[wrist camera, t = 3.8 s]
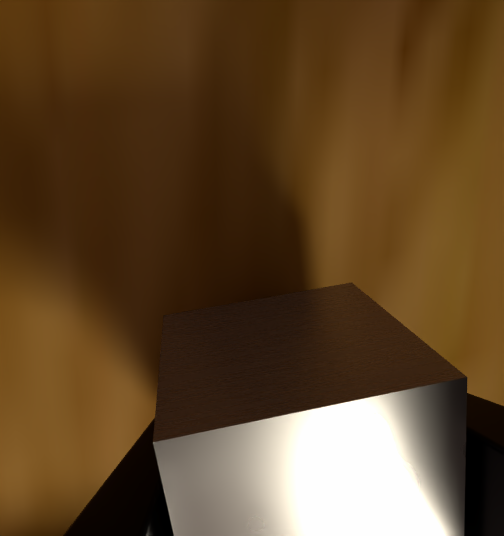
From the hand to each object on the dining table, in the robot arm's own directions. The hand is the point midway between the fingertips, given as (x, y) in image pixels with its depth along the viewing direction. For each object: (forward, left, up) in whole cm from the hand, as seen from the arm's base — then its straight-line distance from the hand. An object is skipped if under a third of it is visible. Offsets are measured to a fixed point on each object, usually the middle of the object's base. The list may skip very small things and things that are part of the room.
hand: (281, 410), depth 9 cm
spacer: (0, 0, -1) cm, 1 cm away
